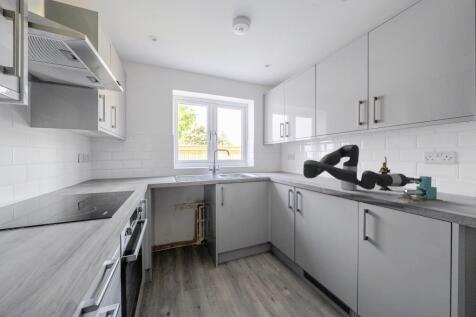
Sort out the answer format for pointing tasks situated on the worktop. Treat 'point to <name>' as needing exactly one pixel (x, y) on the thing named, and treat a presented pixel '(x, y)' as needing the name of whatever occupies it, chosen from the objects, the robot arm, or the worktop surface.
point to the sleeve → (426, 187)
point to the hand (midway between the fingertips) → (420, 180)
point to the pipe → (417, 193)
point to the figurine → (385, 171)
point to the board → (420, 199)
